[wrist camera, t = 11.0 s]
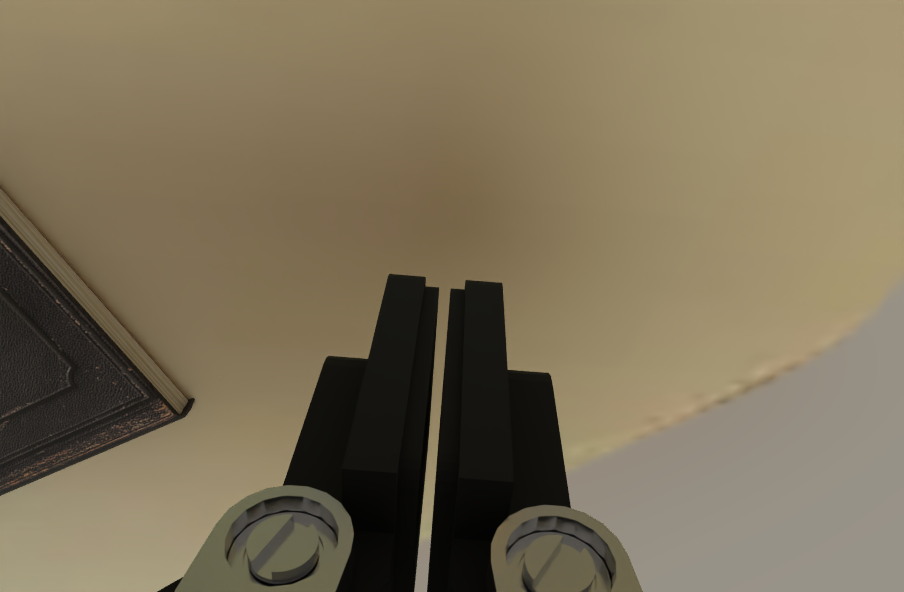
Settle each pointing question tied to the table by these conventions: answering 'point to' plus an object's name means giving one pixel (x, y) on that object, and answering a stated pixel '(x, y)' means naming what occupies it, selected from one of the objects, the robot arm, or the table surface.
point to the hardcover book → (65, 364)
